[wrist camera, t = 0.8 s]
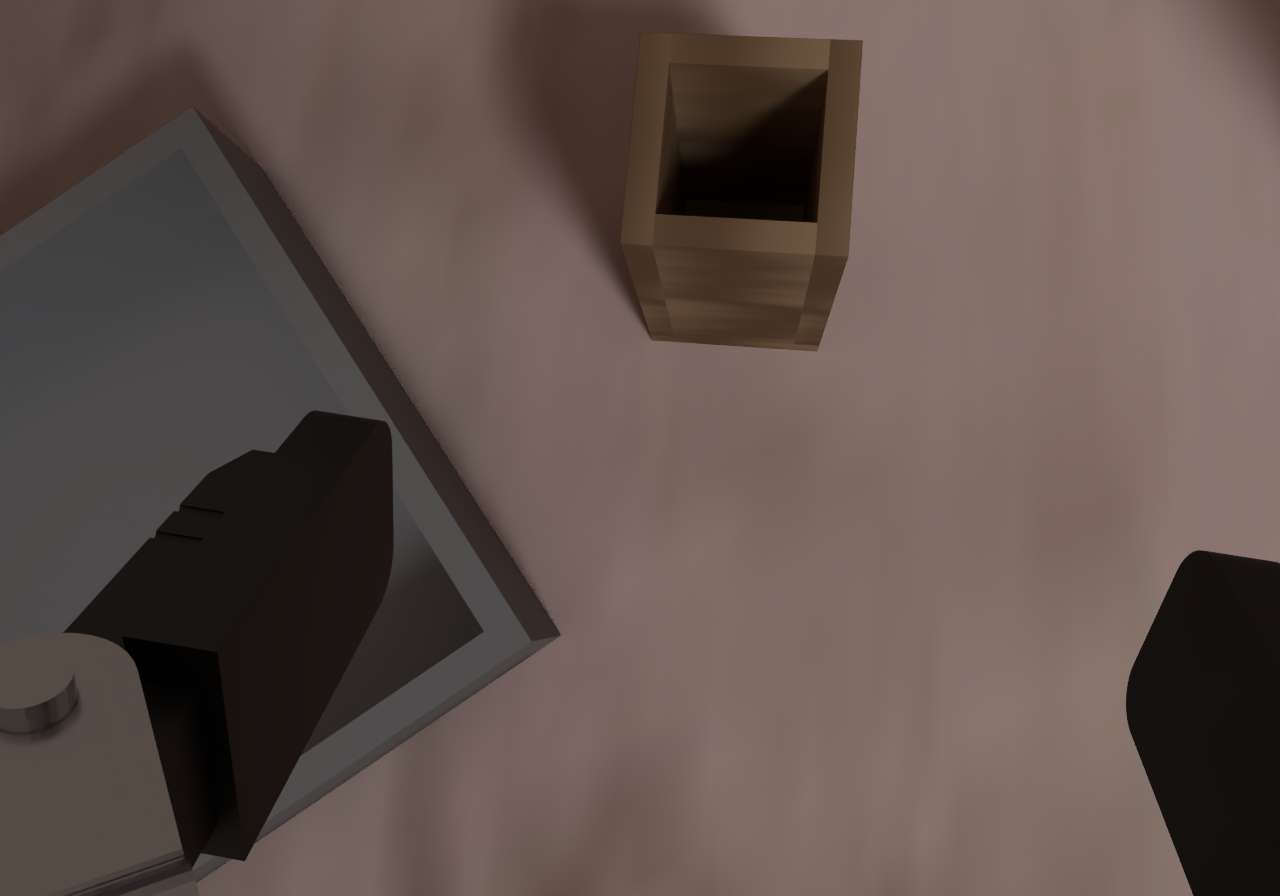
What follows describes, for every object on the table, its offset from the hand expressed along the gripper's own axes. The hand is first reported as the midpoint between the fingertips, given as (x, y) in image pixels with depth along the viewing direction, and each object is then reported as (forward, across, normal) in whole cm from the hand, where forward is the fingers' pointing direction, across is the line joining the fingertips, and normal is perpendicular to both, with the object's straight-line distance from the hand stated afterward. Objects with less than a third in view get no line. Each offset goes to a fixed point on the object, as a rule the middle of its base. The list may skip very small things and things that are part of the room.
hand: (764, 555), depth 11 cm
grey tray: (+18, +19, +18) cm, 32 cm away
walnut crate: (+26, 0, +6) cm, 26 cm away
